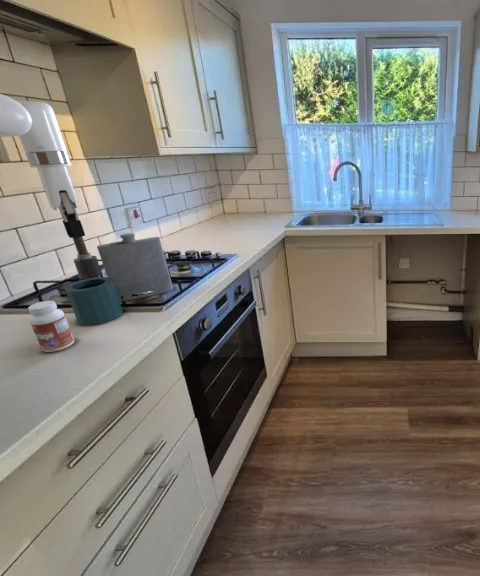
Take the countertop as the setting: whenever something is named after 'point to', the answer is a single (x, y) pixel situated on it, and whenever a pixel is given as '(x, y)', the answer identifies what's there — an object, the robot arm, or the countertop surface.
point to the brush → (85, 261)
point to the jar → (94, 300)
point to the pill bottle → (50, 326)
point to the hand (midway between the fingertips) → (76, 235)
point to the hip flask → (136, 266)
